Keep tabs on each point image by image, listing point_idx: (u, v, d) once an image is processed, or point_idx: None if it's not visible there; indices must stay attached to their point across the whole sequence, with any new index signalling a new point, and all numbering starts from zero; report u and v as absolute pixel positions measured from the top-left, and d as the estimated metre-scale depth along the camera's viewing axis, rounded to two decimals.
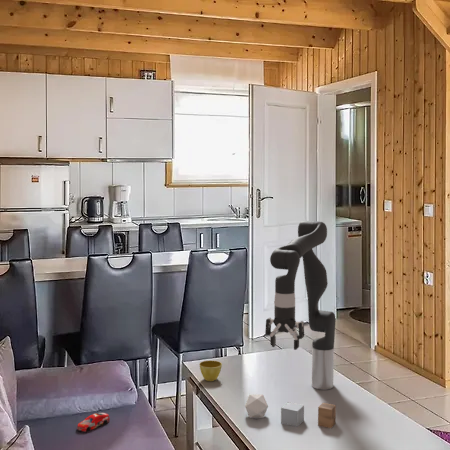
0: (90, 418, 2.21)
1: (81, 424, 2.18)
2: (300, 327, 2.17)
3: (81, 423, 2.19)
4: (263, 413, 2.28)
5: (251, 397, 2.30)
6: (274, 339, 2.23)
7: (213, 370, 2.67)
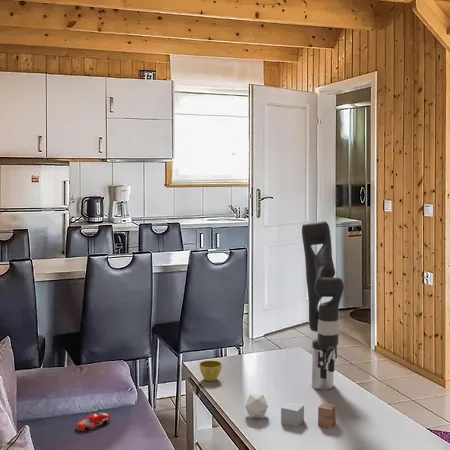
0: (90, 418, 2.21)
1: (80, 423, 2.19)
2: (336, 347, 2.26)
3: (80, 422, 2.19)
4: (263, 413, 2.28)
5: (251, 397, 2.30)
6: None
7: (213, 370, 2.67)
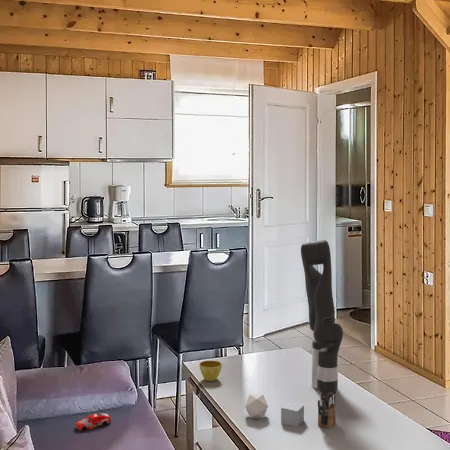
0: (89, 418, 2.21)
1: (79, 422, 2.20)
2: (335, 395, 2.27)
3: (79, 421, 2.20)
4: (263, 413, 2.28)
5: (251, 397, 2.30)
6: None
7: (213, 370, 2.67)
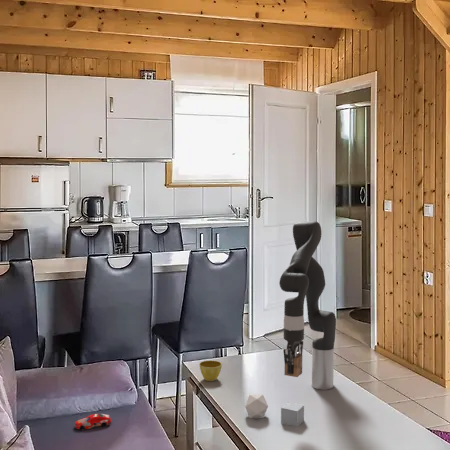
0: (89, 417, 2.21)
1: (78, 421, 2.21)
2: (302, 345, 2.28)
3: (79, 420, 2.21)
4: (263, 413, 2.28)
5: (251, 397, 2.30)
6: None
7: (213, 370, 2.67)
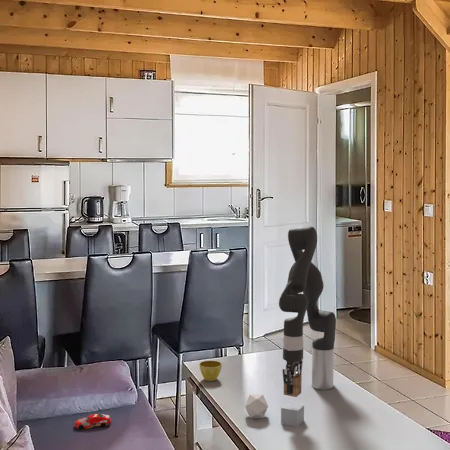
0: (88, 417, 2.22)
1: (78, 420, 2.21)
2: (301, 365, 2.29)
3: (79, 420, 2.22)
4: (263, 413, 2.28)
5: (251, 397, 2.30)
6: None
7: (213, 370, 2.67)
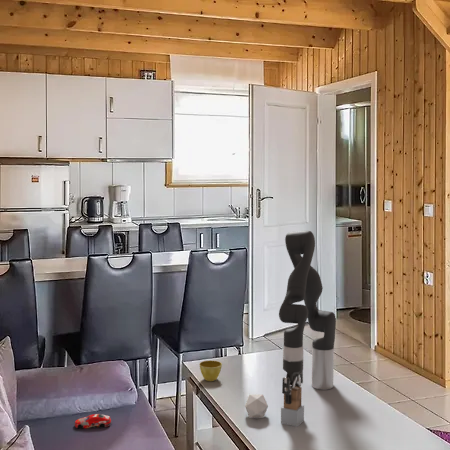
0: (88, 417, 2.22)
1: (78, 419, 2.22)
2: (302, 372, 2.29)
3: (79, 419, 2.23)
4: (263, 413, 2.28)
5: (251, 397, 2.30)
6: None
7: (213, 370, 2.67)
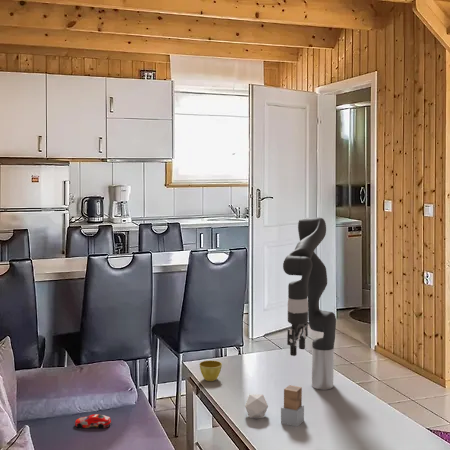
0: (88, 417, 2.22)
1: (79, 418, 2.23)
2: (307, 325, 2.30)
3: (80, 418, 2.23)
4: (263, 413, 2.28)
5: (251, 397, 2.30)
6: None
7: (213, 370, 2.67)
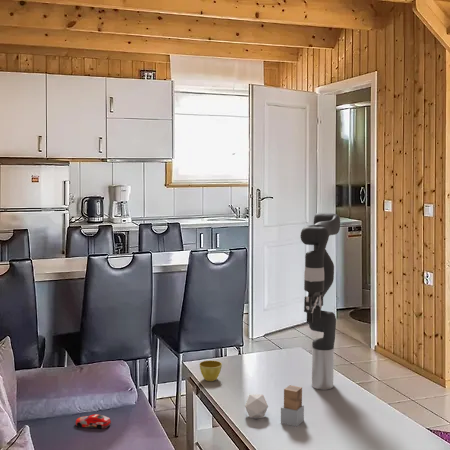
0: (88, 416, 2.22)
1: None
2: (322, 295, 2.37)
3: (81, 417, 2.24)
4: (263, 413, 2.28)
5: (251, 397, 2.30)
6: None
7: (213, 370, 2.67)
